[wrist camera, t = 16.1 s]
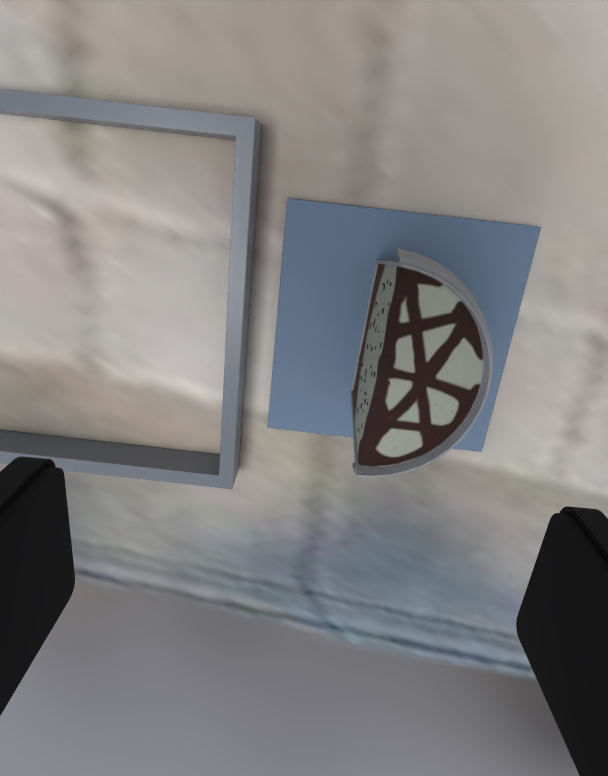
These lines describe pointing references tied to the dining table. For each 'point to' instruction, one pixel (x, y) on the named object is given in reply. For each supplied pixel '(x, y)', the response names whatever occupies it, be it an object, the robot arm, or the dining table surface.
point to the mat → (351, 294)
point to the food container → (417, 367)
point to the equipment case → (225, 466)
